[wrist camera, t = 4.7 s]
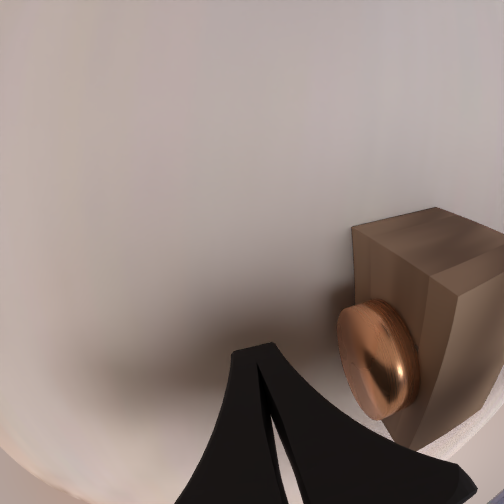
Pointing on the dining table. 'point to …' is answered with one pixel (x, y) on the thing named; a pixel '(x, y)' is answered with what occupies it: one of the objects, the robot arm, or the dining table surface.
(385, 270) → the block
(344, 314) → the pin
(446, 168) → the dining table surface
